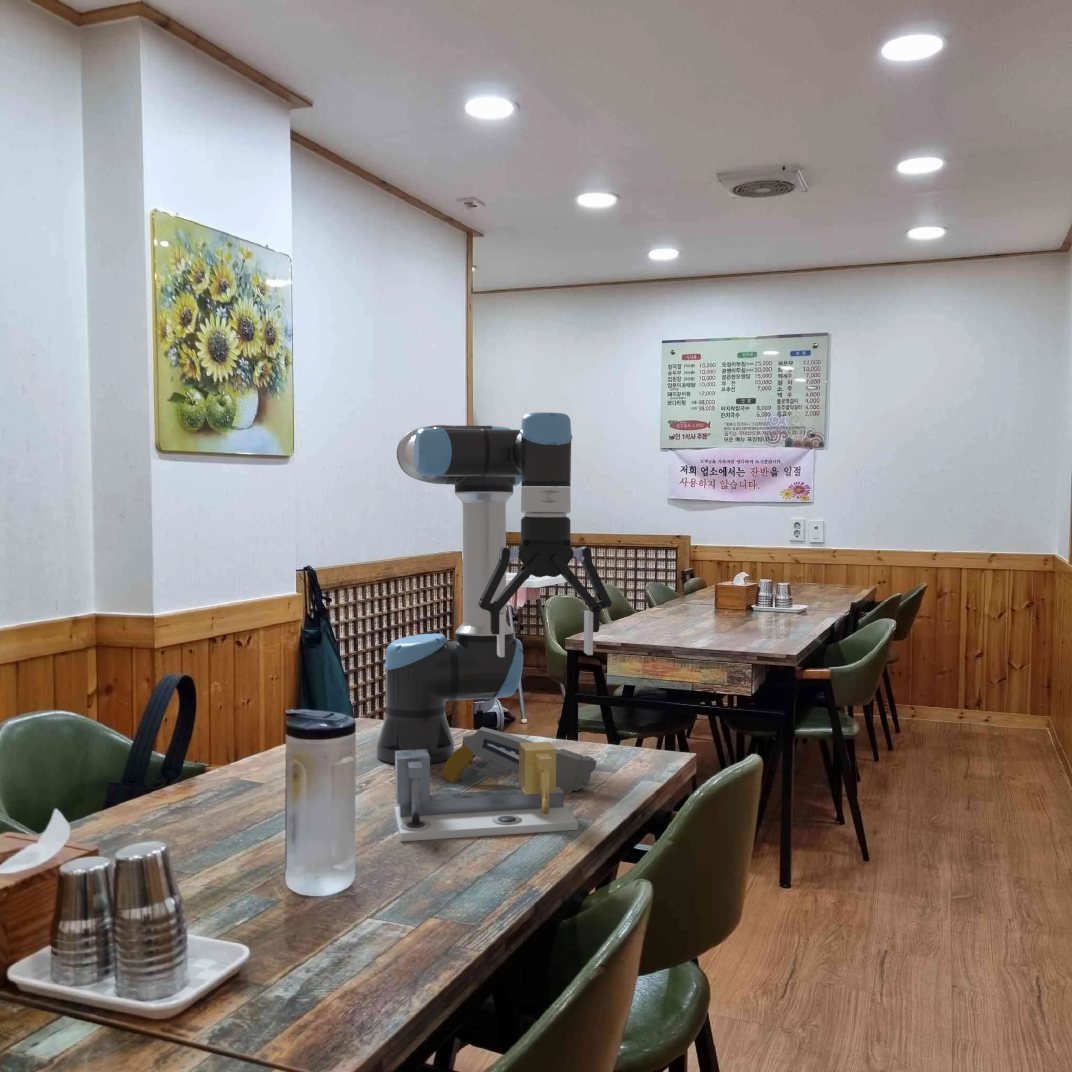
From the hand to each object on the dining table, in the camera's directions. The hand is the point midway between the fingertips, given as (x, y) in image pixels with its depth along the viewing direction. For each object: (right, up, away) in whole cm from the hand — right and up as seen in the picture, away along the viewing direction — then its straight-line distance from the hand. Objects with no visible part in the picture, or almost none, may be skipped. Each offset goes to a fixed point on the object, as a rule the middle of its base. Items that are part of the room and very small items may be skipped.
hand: (544, 655), depth 153 cm
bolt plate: (-9, -27, +4) cm, 29 cm away
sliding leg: (-1, -25, +7) cm, 26 cm away
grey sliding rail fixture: (-10, -25, +5) cm, 28 cm away
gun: (-4, -26, +24) cm, 36 cm away
